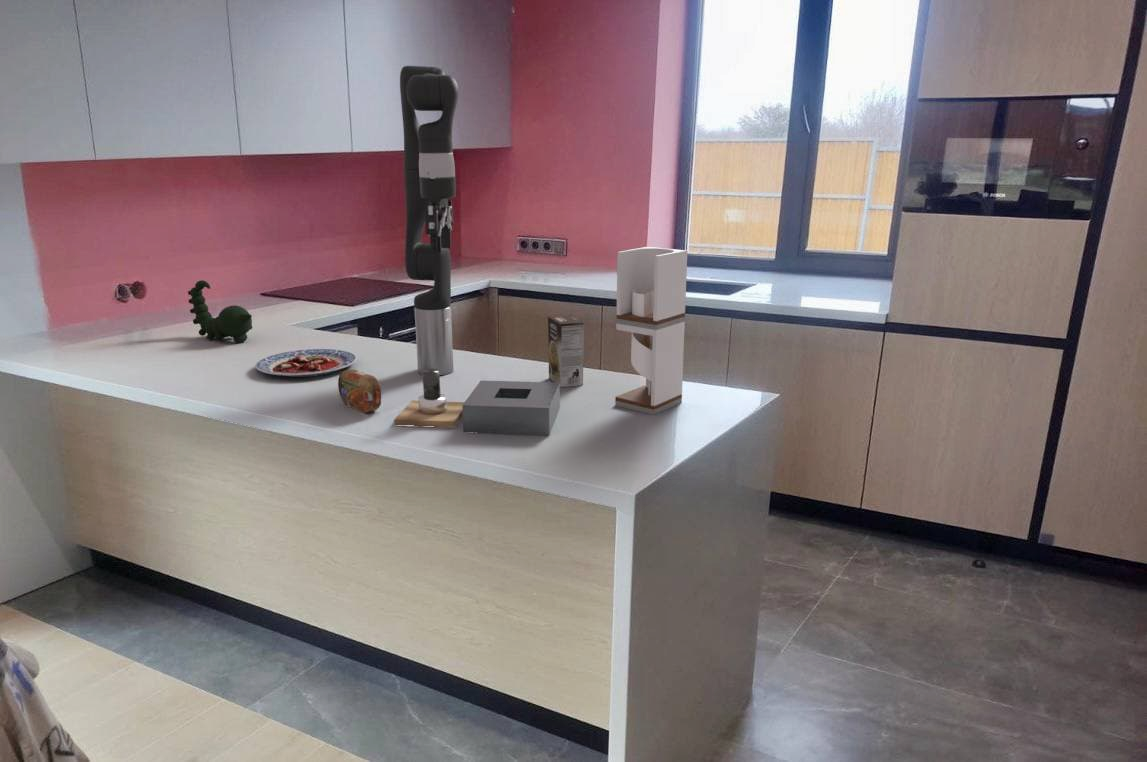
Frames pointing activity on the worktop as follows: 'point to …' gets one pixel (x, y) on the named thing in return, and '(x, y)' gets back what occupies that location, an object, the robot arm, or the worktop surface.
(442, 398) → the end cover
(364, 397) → the tin
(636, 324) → the white shelf stand
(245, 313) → the toy figurine
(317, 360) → the ceramic plate
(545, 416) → the housing
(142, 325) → the worktop surface
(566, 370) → the coffee box
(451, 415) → the oak pad
